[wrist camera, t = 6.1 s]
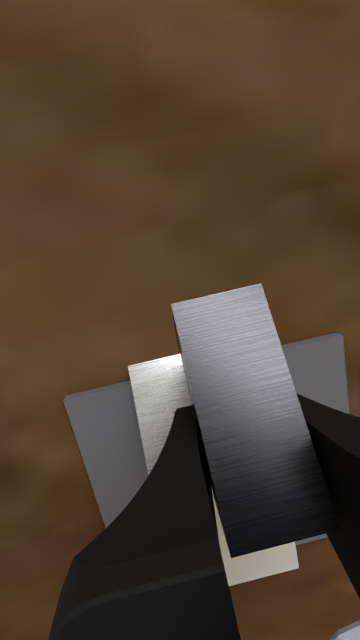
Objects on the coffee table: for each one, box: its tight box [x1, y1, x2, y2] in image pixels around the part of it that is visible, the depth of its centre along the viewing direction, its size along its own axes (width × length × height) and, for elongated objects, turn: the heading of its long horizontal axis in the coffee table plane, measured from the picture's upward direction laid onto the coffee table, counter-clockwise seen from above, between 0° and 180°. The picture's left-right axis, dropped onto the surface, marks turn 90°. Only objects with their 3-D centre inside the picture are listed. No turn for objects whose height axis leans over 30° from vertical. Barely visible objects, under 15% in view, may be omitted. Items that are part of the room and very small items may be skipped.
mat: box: [63, 333, 349, 545], centre depth 20 cm, size 16×14×1 cm
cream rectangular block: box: [212, 493, 299, 586], centre depth 19 cm, size 6×2×8 cm
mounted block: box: [128, 284, 340, 558], centre depth 12 cm, size 8×10×6 cm
